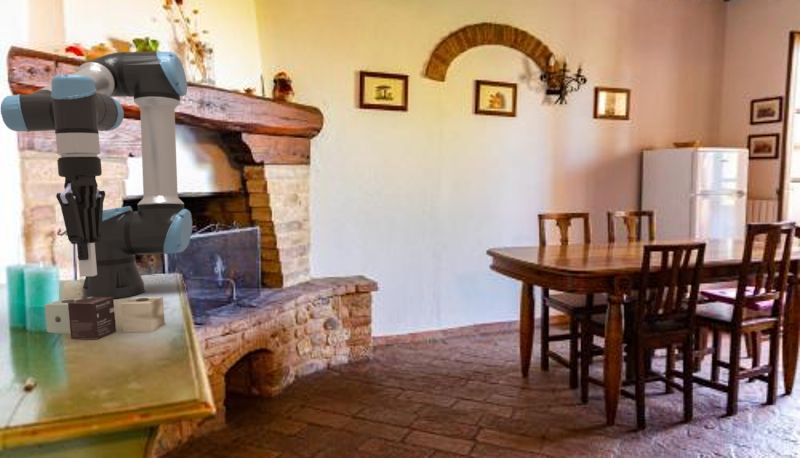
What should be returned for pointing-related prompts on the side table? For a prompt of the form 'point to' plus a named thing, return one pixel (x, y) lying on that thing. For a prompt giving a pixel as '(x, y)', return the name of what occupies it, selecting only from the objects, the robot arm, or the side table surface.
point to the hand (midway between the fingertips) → (88, 275)
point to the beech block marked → (142, 314)
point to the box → (91, 317)
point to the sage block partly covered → (58, 316)
